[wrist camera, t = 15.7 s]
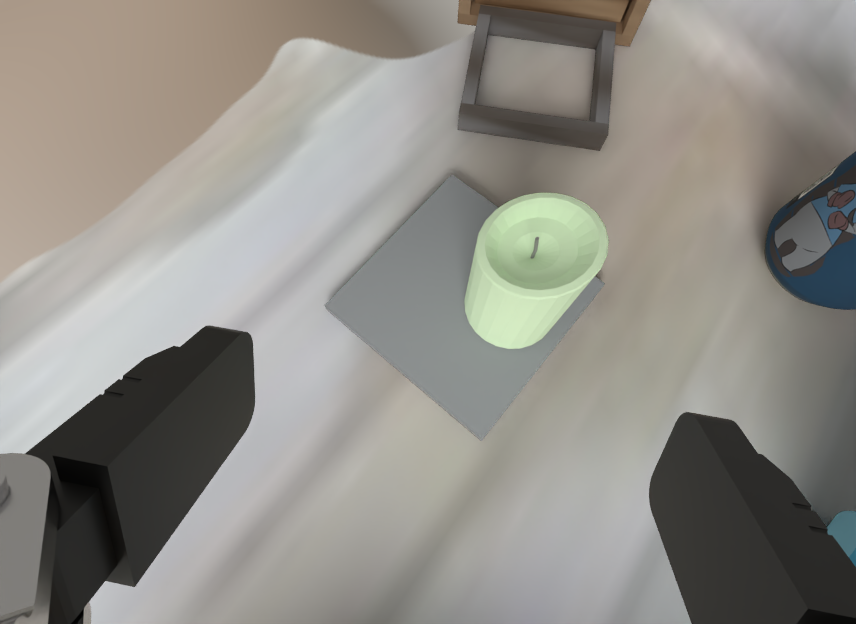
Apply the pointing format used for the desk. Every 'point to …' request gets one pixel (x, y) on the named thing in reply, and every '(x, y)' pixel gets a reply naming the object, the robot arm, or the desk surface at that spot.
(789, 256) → the soda can
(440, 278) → the slate mat
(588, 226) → the candle
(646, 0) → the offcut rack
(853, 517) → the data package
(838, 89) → the desk surface
